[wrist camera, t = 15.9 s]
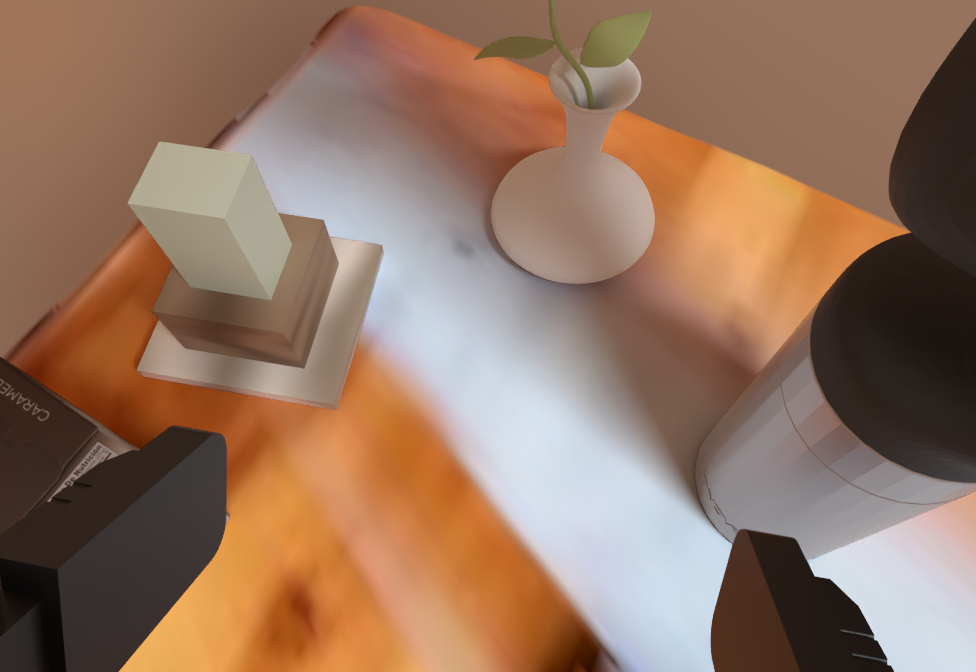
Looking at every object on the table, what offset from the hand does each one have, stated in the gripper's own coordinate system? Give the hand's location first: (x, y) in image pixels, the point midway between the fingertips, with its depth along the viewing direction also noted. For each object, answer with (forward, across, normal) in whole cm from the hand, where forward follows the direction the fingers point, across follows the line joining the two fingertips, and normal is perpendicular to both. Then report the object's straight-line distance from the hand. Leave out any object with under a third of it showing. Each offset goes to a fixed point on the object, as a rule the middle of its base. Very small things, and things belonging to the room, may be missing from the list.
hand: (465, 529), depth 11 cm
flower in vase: (+42, 0, +2) cm, 42 cm away
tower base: (+34, +18, +9) cm, 40 cm away
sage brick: (+30, +18, +5) cm, 35 cm away
